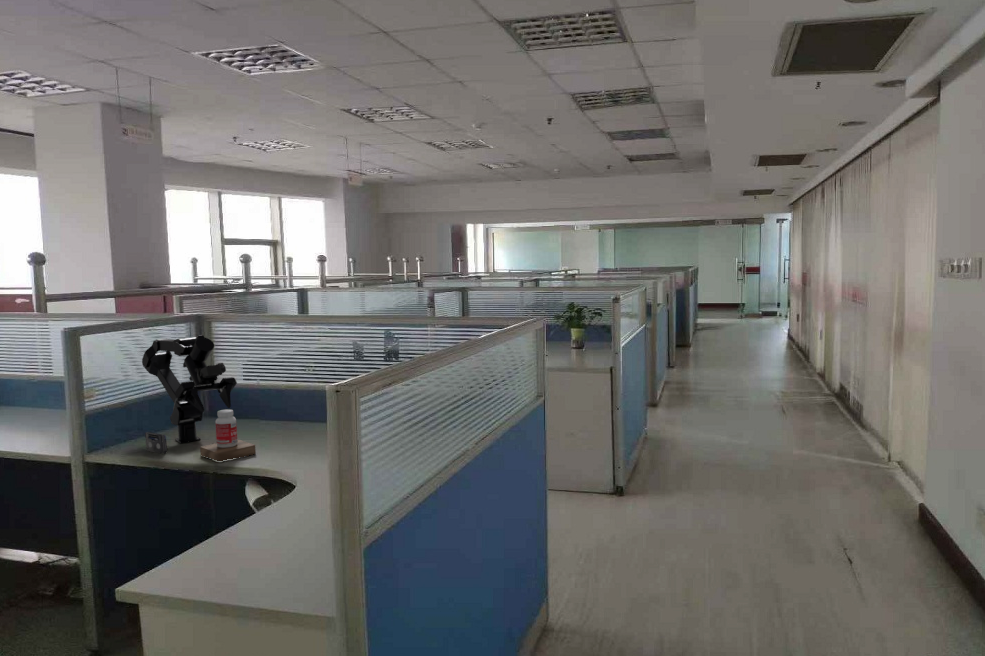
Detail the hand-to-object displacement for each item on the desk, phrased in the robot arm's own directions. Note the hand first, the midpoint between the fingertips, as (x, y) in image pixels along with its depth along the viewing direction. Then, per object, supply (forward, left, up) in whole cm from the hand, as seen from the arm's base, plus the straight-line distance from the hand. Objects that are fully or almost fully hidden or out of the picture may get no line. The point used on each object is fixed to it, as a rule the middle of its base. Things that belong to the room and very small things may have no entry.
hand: (216, 409), depth 231 cm
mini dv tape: (-14, -15, -14) cm, 25 cm away
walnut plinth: (+7, 0, -14) cm, 15 cm away
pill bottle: (+7, 0, -11) cm, 13 cm away
